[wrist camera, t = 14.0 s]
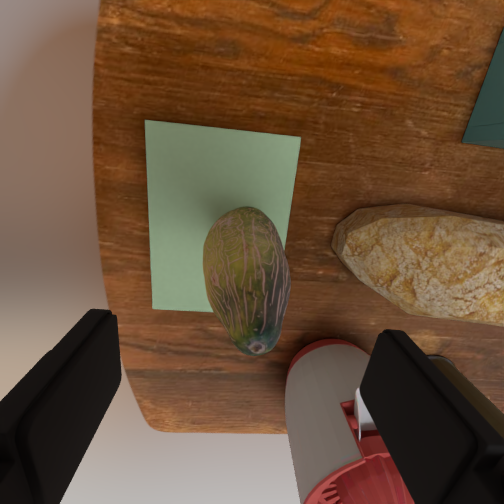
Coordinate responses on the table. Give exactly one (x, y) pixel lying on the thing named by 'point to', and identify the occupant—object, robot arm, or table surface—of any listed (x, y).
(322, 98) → the table surface
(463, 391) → the canister
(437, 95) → the table surface
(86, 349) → the robot arm
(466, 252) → the bread
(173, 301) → the mat
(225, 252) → the vegetable
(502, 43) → the divided rectangular frame
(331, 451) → the citrus juicer
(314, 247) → the table surface
